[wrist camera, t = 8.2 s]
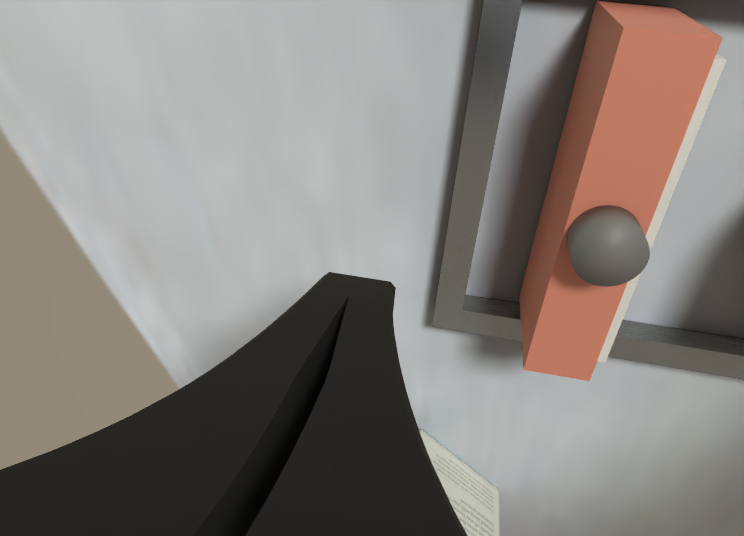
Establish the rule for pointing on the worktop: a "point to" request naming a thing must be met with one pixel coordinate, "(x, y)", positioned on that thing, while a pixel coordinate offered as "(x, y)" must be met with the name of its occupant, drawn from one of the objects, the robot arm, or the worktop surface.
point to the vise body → (465, 215)
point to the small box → (465, 491)
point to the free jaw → (613, 179)
